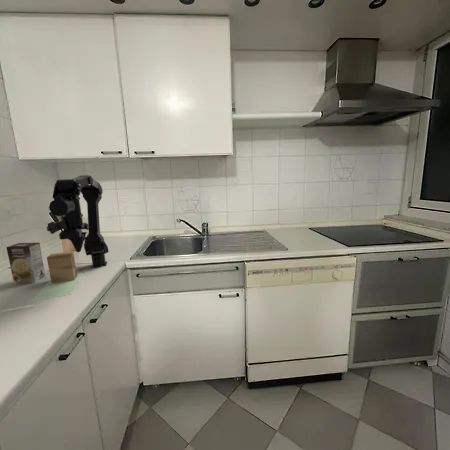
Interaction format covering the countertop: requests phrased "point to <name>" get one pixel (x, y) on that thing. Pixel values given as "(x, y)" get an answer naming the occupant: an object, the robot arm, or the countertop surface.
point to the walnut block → (62, 267)
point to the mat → (57, 289)
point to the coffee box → (26, 262)
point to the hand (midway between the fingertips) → (78, 251)
